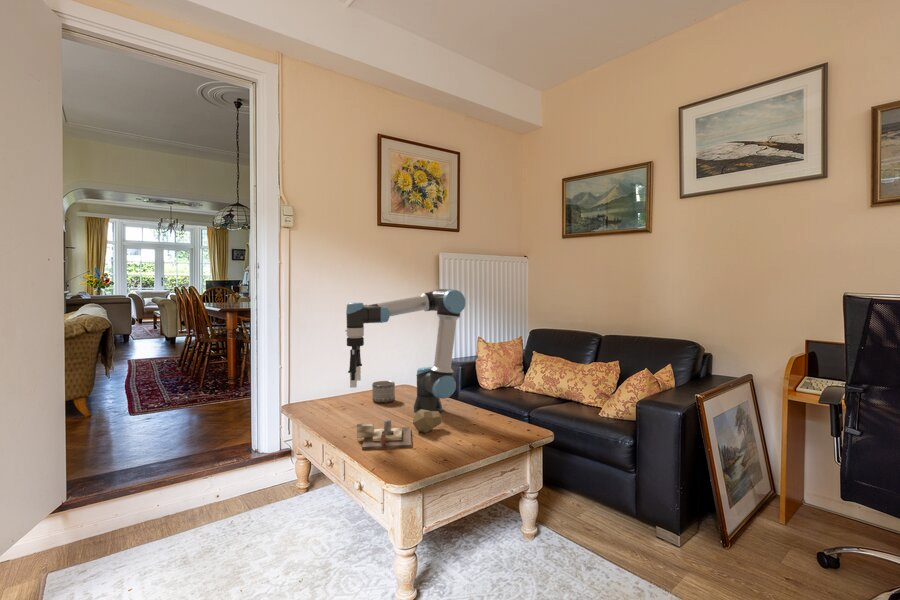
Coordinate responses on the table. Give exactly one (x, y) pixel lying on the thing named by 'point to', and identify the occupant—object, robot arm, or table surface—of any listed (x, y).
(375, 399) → the planter
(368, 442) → the post board
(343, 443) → the table surface
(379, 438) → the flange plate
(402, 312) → the robot arm
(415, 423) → the low-poly potato
